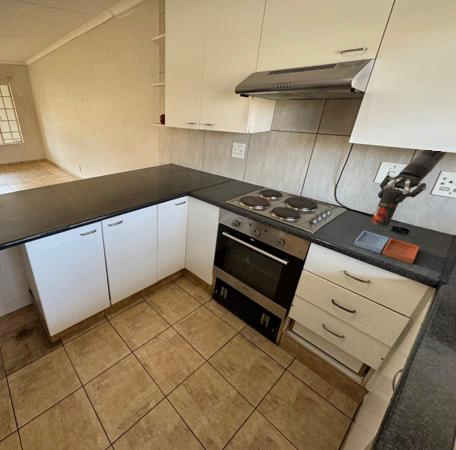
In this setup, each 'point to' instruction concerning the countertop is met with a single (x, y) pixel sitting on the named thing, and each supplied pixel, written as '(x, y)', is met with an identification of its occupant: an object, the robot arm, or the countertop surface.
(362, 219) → the countertop surface
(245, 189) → the countertop surface
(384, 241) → the blue tray
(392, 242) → the terracotta tray
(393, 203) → the deodorant
